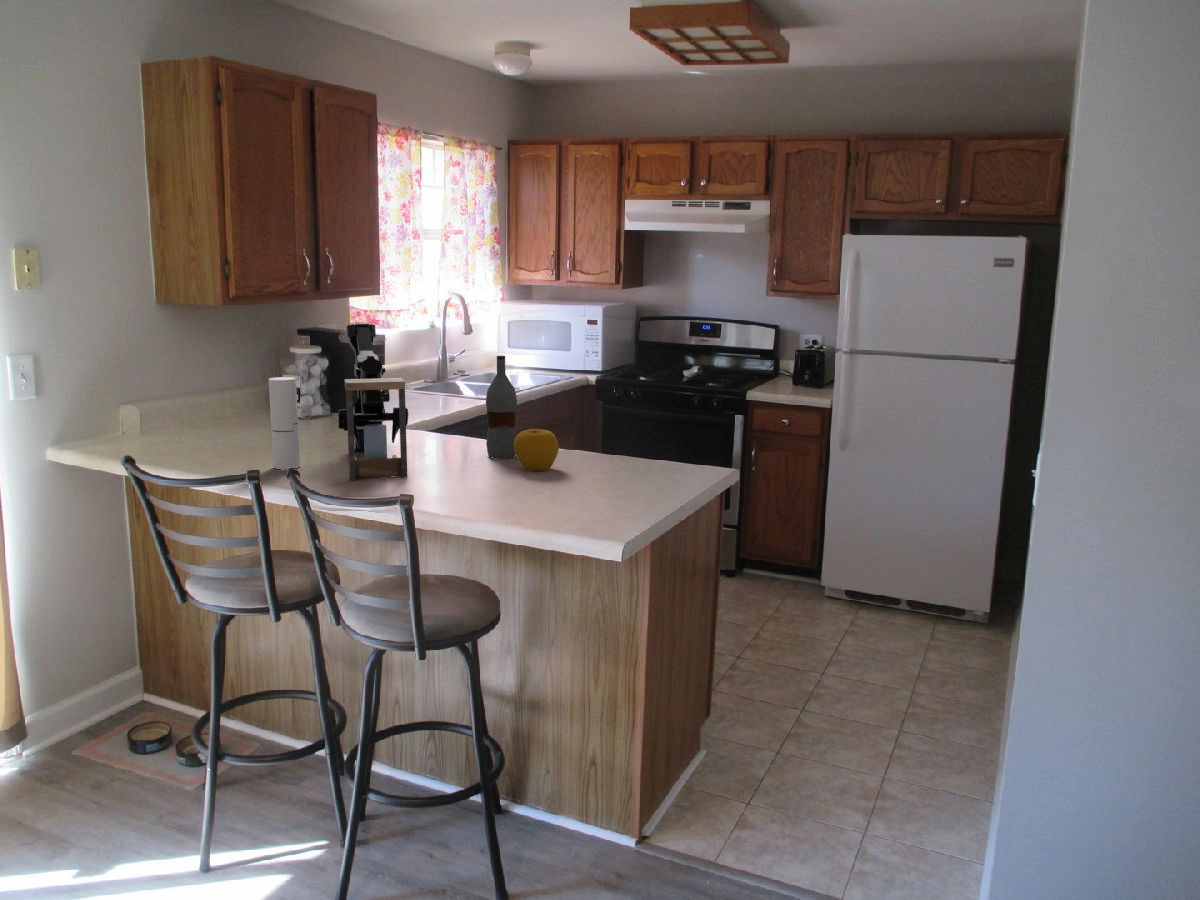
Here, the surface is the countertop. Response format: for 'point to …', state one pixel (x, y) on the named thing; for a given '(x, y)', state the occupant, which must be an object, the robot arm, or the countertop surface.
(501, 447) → the bottle
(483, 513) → the countertop surface
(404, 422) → the shelf bay
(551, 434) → the apple
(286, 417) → the cylindrical container
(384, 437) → the blue-grey tall cylinder
